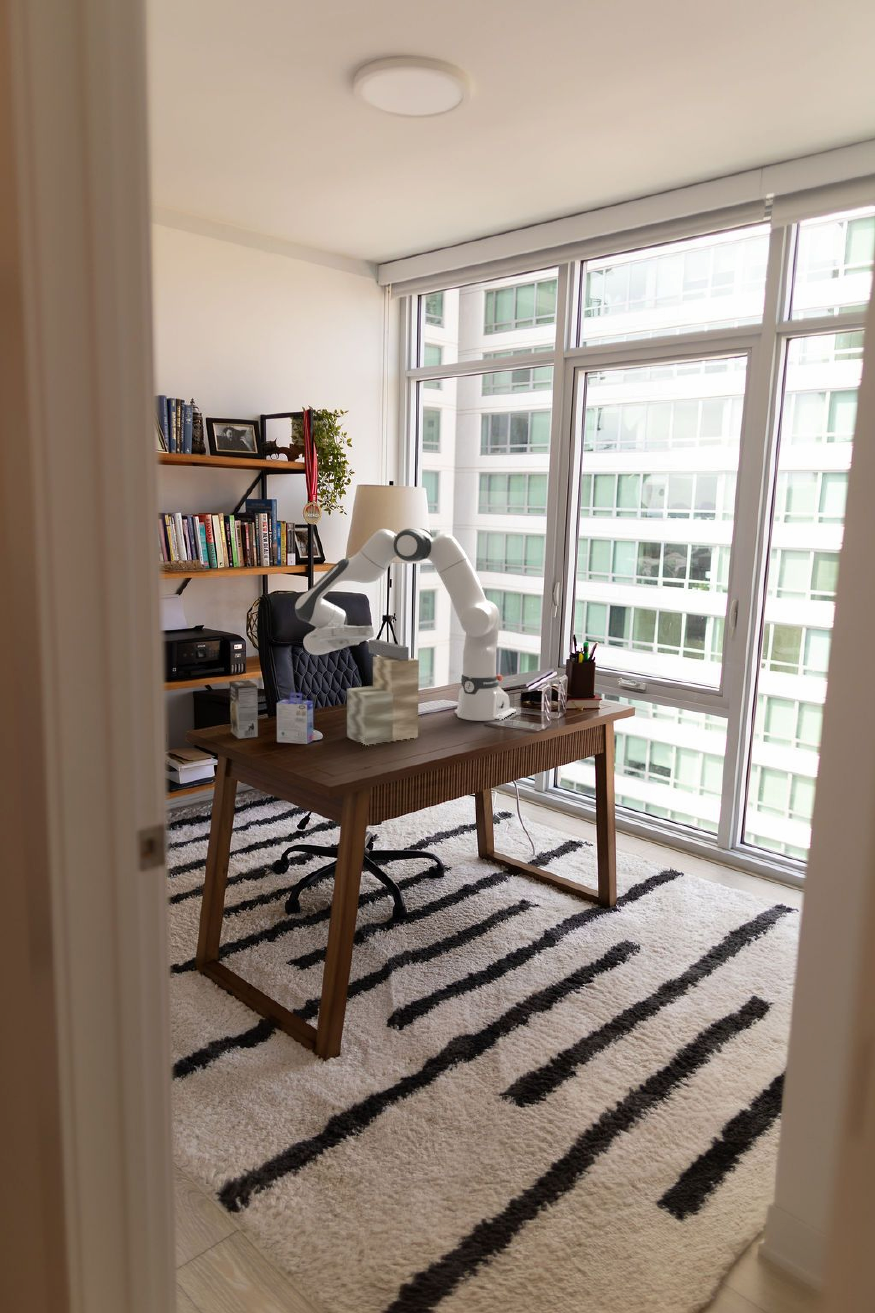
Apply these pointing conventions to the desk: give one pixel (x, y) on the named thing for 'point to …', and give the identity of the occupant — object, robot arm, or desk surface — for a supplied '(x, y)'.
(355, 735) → the stepped stand
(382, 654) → the bar
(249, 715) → the coffee box
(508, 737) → the desk surface
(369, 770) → the desk surface
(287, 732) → the ink cartridge box
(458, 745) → the desk surface
